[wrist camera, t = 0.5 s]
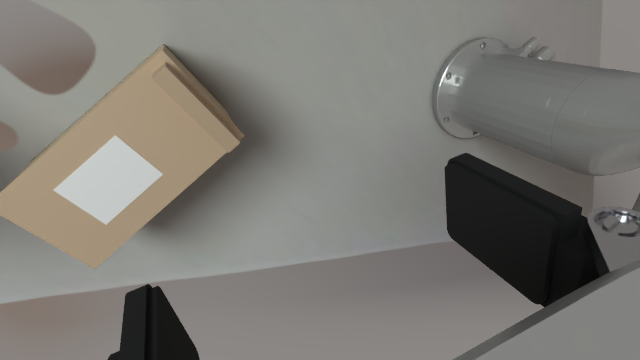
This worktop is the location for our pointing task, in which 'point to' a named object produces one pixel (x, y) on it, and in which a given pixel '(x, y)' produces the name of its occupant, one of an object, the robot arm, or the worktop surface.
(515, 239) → the robot arm
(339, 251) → the worktop surface
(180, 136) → the lid
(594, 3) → the worktop surface
